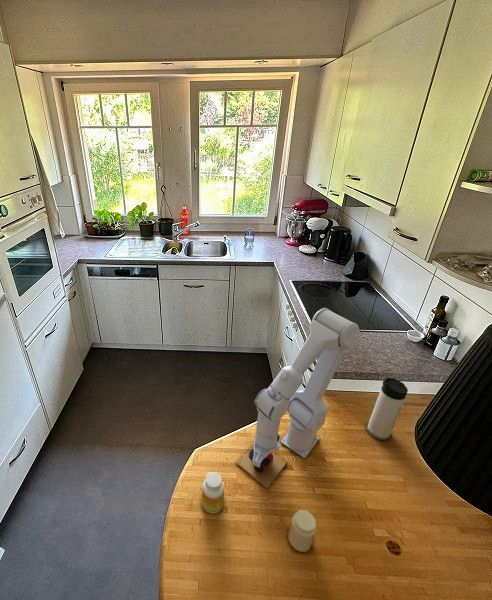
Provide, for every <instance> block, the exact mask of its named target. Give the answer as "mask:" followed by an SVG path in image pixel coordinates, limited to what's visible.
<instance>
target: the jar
mask: <svg viewBox="0 0 492 600" xmlns="http://www.w3.org/2000/svg"><path fill="white" fill-rule="evenodd" d="M316 532H317V522H316V519H315V516H313V514H312V513H311V512H310V511H308V510H305V509H299V510H297V511H296V512H295V513H294V514H293V515H292V518H291V522H290V525H289V530H288V535H287V538H288V541H289V543H290V545H291V546H292V548H293V549H295V551H299V552H300V553H301V552H302V553H304V552H308V551H309V550H310V549H311V547H312V544H313V541H314V538H315V535H316Z"/></svg>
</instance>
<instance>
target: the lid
mask: <svg viewBox="0 0 492 600" xmlns="http://www.w3.org/2000/svg"><path fill="white" fill-rule="evenodd" d="M267 458H269V459H271V461H270V464H269V465H268V466H267V467H265V468H264V469H268V468H270V467H271V466H272V463H273V454H272V453H270V454H269V455H268V456H267Z"/></svg>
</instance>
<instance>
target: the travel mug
mask: <svg viewBox="0 0 492 600" xmlns="http://www.w3.org/2000/svg"><path fill="white" fill-rule="evenodd" d="M408 392H409V389H408V387H407V386H406V385H405V384H404V382H402V381H401V380H399V379H397V378H393V377H385V378H384V380H383V381H382V386H381V388H380V390H379V394H378V395H377V399H376V402H375V405H374V407H373V411H372V413H371V415H370V418H369V421H368V424H367V426H366V429H367V431H368V433H369V435H371V436H372V437H374V438H375V439H377V440H384V441H385V440H387V439H389V438H390V437H391V434H392V431H393V428H394V427H395V424H396V421H397V420H398V417H399V414H400V412H401V409H402V407H403V405H404V403H405V400H406V397H407V394H408Z"/></svg>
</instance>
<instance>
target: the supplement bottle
mask: <svg viewBox="0 0 492 600" xmlns="http://www.w3.org/2000/svg"><path fill="white" fill-rule="evenodd" d="M222 478H223V477H222V476H221V475H220V473H218V472H216V471H211V472H208V473H207V474H206V476H205V479H204V480H203V482H202V488H201V489H202V491H201V504H202V507H203V509H204V510H205V511H206V512H207V513H209V514H216V513H219V512H220V511H221V510H222V508H223V506H224V499H225V498H224V497H225V484H224V482H223V479H222Z"/></svg>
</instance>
